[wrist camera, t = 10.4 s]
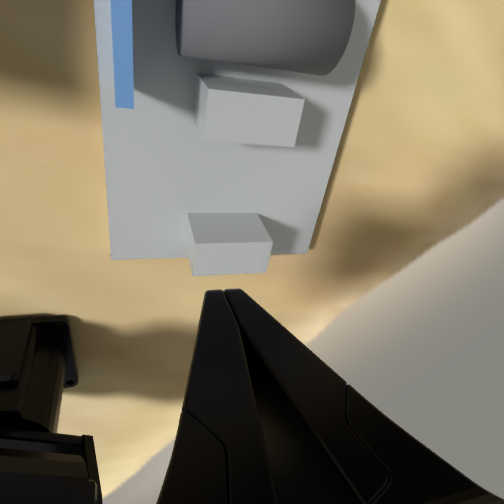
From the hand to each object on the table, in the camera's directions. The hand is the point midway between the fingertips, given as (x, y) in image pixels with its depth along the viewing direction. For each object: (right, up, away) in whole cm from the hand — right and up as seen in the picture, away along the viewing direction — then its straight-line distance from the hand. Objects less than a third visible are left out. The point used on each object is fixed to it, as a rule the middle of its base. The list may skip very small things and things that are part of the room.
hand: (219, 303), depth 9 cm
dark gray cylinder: (+1, +11, +7) cm, 13 cm away
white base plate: (0, +9, +9) cm, 13 cm away
